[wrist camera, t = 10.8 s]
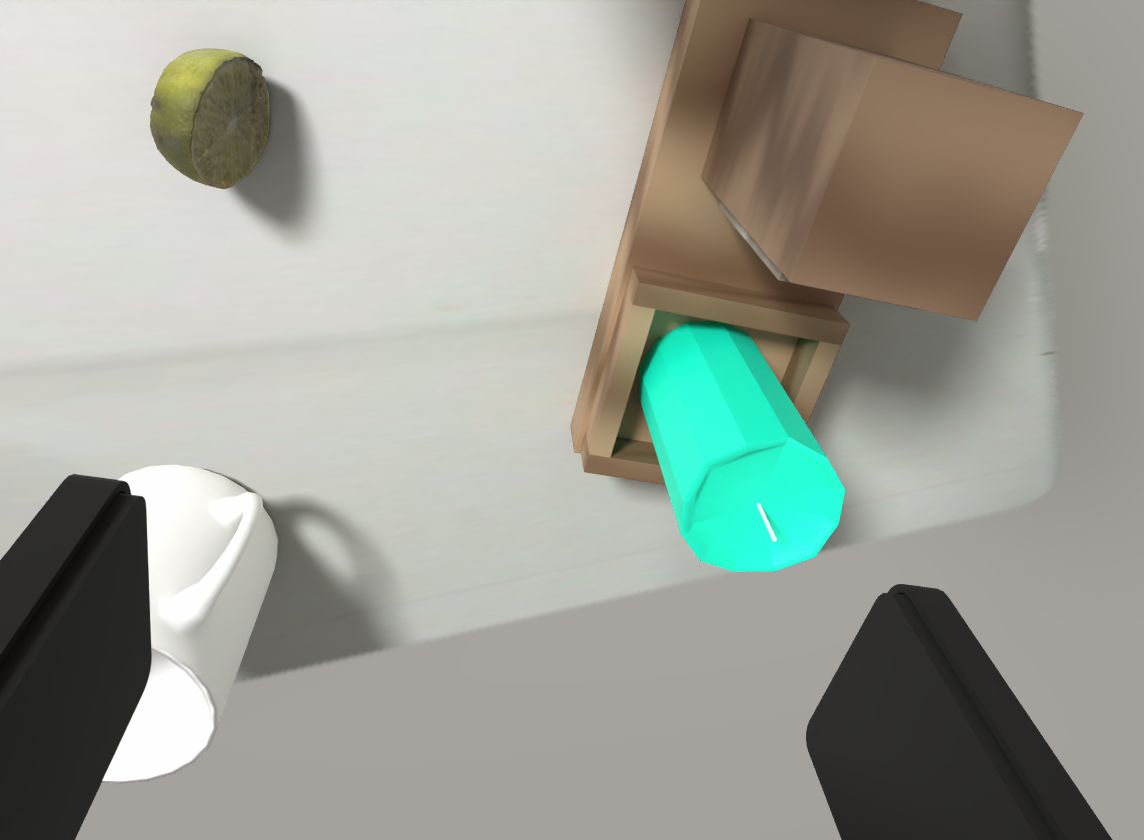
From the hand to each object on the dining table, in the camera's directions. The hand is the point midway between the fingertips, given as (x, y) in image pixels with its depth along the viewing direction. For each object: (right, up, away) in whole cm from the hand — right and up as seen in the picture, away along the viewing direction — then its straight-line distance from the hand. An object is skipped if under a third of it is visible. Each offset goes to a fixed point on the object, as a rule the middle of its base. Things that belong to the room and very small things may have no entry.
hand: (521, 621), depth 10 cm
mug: (-19, -2, +33) cm, 38 cm away
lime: (-13, +15, +23) cm, 31 cm away
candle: (+7, +5, +28) cm, 29 cm away
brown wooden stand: (+8, +11, +27) cm, 30 cm away
